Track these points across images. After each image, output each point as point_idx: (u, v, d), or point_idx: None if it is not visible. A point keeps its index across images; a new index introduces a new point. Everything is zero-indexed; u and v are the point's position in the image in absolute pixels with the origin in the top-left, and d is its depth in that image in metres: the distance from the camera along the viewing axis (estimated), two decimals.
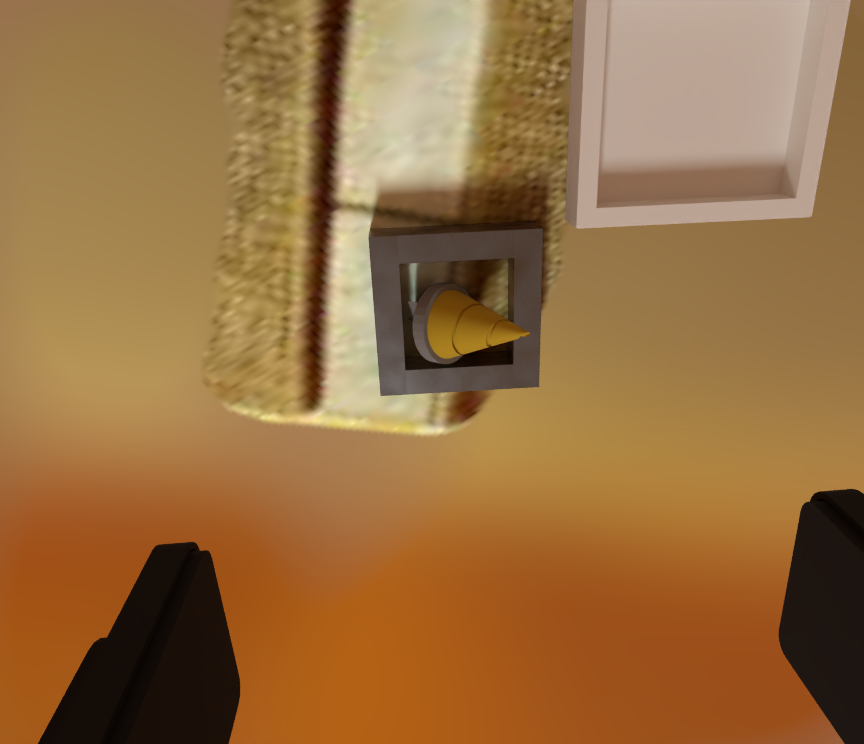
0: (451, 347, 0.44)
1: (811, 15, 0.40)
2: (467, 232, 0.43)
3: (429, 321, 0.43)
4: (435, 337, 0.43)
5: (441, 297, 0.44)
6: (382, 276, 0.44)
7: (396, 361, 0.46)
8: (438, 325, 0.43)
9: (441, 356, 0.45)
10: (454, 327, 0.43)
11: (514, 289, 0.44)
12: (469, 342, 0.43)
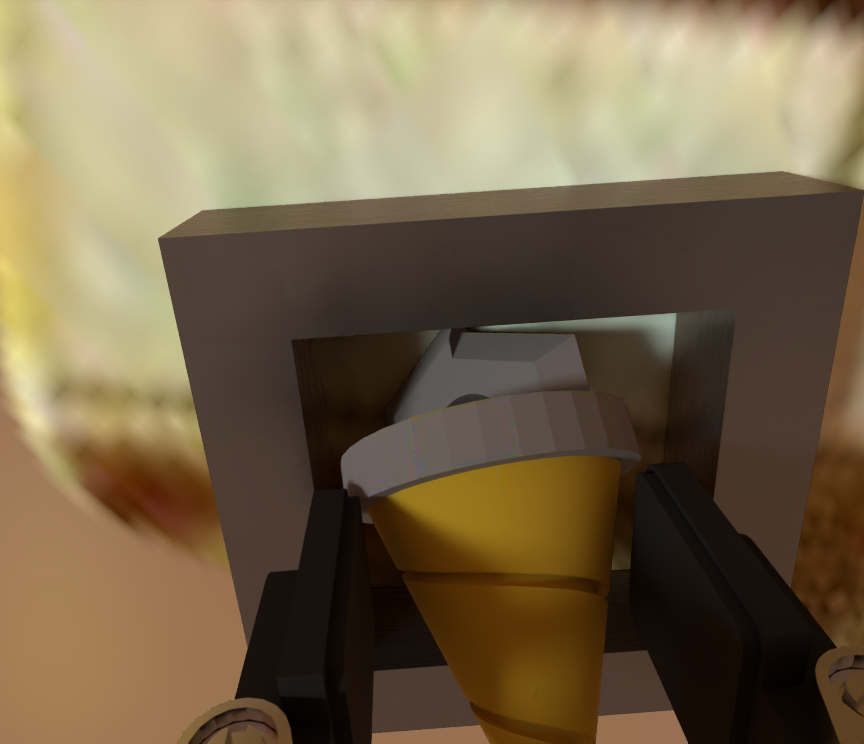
0: (453, 561, 0.10)
1: None
2: (800, 520, 0.13)
3: (557, 463, 0.10)
4: (494, 499, 0.10)
5: (618, 475, 0.12)
6: (696, 244, 0.11)
7: (329, 304, 0.11)
8: (548, 507, 0.10)
9: (394, 504, 0.11)
10: (543, 572, 0.10)
11: None
12: (493, 646, 0.10)
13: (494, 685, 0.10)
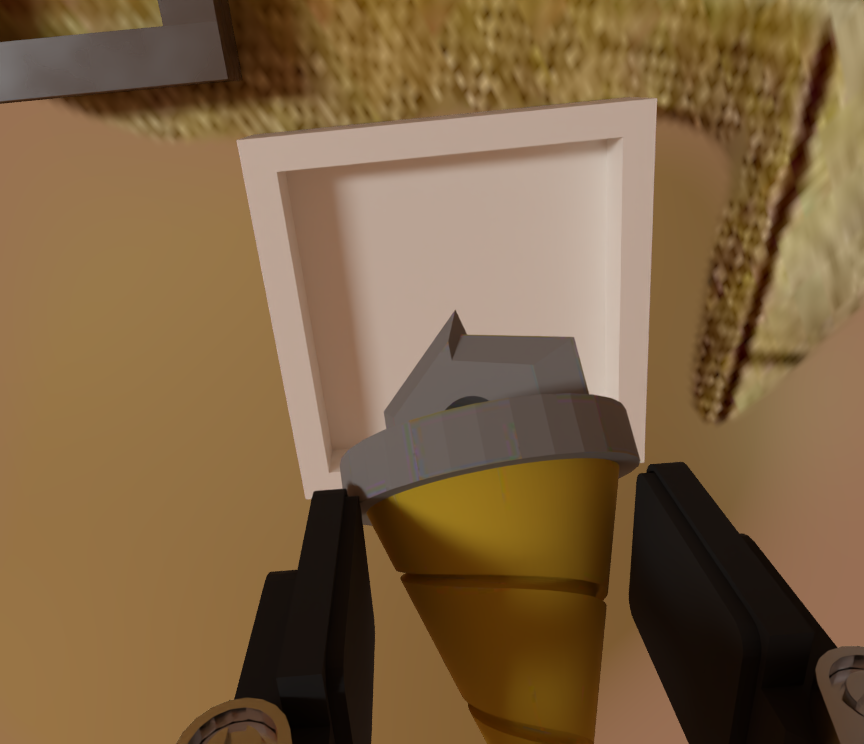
0: (451, 563, 0.11)
1: None
2: None
3: (556, 465, 0.10)
4: (493, 502, 0.10)
5: (616, 477, 0.12)
6: None
7: None
8: (546, 509, 0.10)
9: (394, 506, 0.11)
10: (542, 575, 0.10)
11: (101, 33, 0.23)
12: (491, 647, 0.10)
13: (492, 687, 0.10)
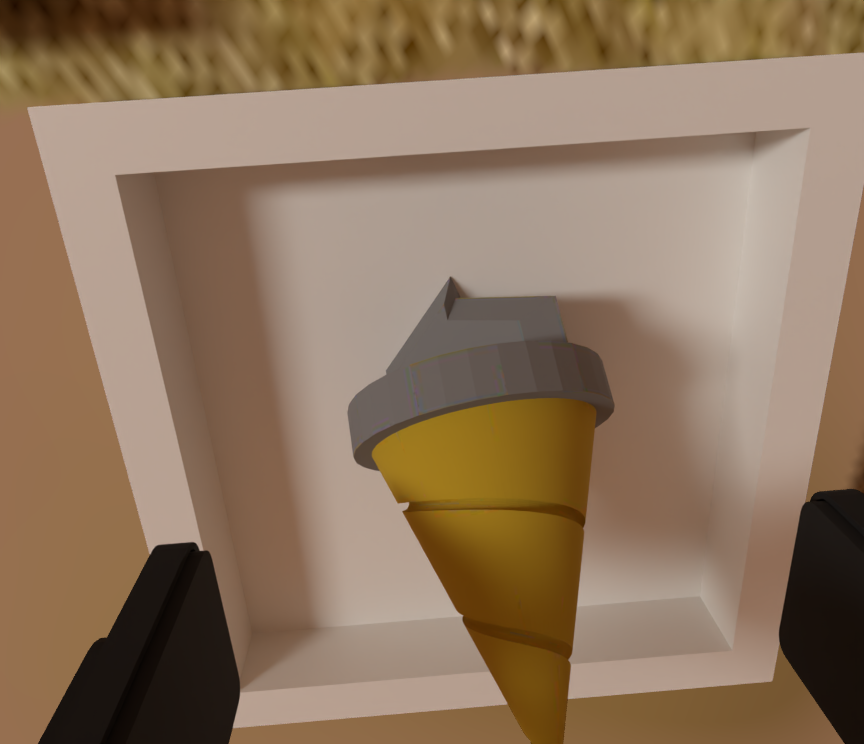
0: (447, 490, 0.12)
1: (622, 613, 0.19)
2: None
3: (538, 403, 0.12)
4: (483, 434, 0.12)
5: (593, 419, 0.13)
6: None
7: None
8: (530, 441, 0.12)
9: (395, 442, 0.12)
10: (526, 499, 0.12)
11: None
12: (483, 562, 0.12)
13: (483, 597, 0.12)
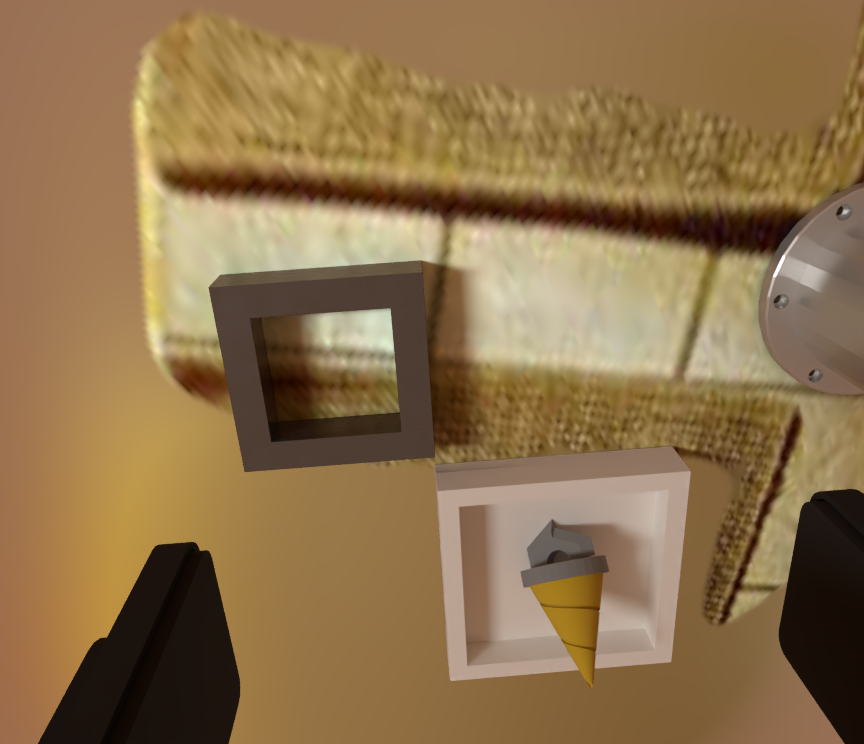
0: (559, 601, 0.40)
1: (613, 635, 0.47)
2: (429, 381, 0.38)
3: (586, 576, 0.40)
4: (570, 586, 0.40)
5: (602, 576, 0.41)
6: (373, 288, 0.35)
7: (261, 307, 0.35)
8: (584, 587, 0.40)
9: (542, 586, 0.41)
10: (582, 604, 0.40)
11: (364, 434, 0.39)
12: (570, 623, 0.40)
13: (570, 634, 0.40)
